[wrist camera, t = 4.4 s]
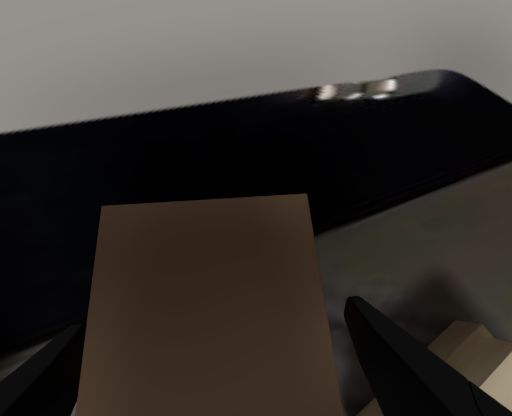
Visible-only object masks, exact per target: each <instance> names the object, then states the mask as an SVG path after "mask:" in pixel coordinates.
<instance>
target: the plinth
mask: <svg viewBox="0 0 512 416" xmlns="http://www.w3.org/2000/svg"><path fill="white" fill-rule="evenodd" d="M427 348H428V349H429V350H431V351H432V352H433V353H434V354H436V355H437V356H438V357H440V358H441V359H442V360H444V361H445V362H446V363H448V364H449V365H450V366H452V367H453V368H454V369H455V370H457V371H458V372H459V373H461V374H462V375H463V376H465V377H466V378H467V380H469V381H471V382H473V383H474V384H475V385H477V386H478V387H479V388H481V389H482V390H483V391H484V392H486V393H487V394H488V395H490V396H491V397H493V398H494V399H495V400H497V401H498V402H499V403H501V404H502V405H503V406H505V407H506V408H507V409H509V410H510V411H512V342H511V341H505V340H500V339H495V338H494V337H493V336H492V335H491V333H490V332H489V331H488V330H487V329H486V328H485V326H484V325H483V324H480V323H473V322H466V321H459V320H455V321H454V322H452V323H451V324H450V325H449V326H448V327H447V328H446V329H445V330H444V331H443V332H442V333H441V334H440V335H439V336H438V337H437V338H436V339H435V340H434V341H433V342H432V343H431V344H430V345H429V346H428V347H427ZM356 416H383V413H382V411H381V409H380V407H379V405H378V402H377V400H376V398H374V399H373V400H372V401H371V402H370V403H369V404H368V405H367V406H365V407H364V408H363V409H362V410H361V411H360V412H359V413H358V414H357V415H356Z"/></svg>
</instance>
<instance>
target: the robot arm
mask: <svg viewBox="0 0 512 416" xmlns="http://www.w3.org/2000/svg"><path fill="white" fill-rule="evenodd" d="M344 318H345V321H346V324H347V327H348V330H349V333H350V336H351V339H352V342H353V345H354V348H355V351H356V354H357V356H358V359H359V362H360V364H361V367H362V369H363V371H364V374H365V376H366V378H367V380H368V382H369V385H370V387H371V389H372V391H373V393H374V396H375V398H376V400H377V402H378V405H379V407H380V409H381V411H382V413H383V416H512V411H510V410H509V409H507V408H506V407H505V406H503V405H502V404H501V403H499V402H498V401H497V400H495V399H494V398H493V397H491V396H490V395H488V394H487V393H486V392H484V391H483V390H482V389H481V388H479V387H478V386H477V385H475V384H474V383H473V382H471V381H469V380H467V378H466V377H465V376H463V375H462V374H461V373H459V372H458V371H457V370H455V369H454V368H453V367H452V366H450V365H449V364H448V363H446V362H445V361H444V360H442V359H441V358H440V357H438V356H437V355H436V354H434V353H433V352H432V351H431V350H429V349H428V348H427V347H425V346H424V345H423V344H421V343H420V342H419V341H417V340H416V339H415V338H413V337H412V336H411V335H410V334H408V333H407V332H406V331H404V330H403V329H402V328H400V327H399V326H398V325H396V324H395V323H394V322H392V321H391V320H390V319H389V318H387V317H386V316H385V315H383V314H382V313H381V312H379V311H378V310H377V309H375V308H374V307H373V306H372V305H370V304H369V303H368V302H366V301H365V300H364V299H362V298H361V297H359V296H352V297H348V298H347V300H346V305H345V309H344ZM86 327H87V323H86V322H82V323H74V324H72V325H70V326H69V327H68V328H67V329H65V330H64V331H63V332H62V333H60V334H59V335H58V336H57V337H55V338H54V339H53V340H52V341H51V342H49V343H48V344H47V345H46V346H44V347H43V348H42V349H41V350H39V351H38V352H37V353H36V354H34V355H33V356H32V357H31V358H30V359H28V360H27V361H26V362H25V363H23V364H22V365H21V366H20V367H18V368H17V369H16V370H15V371H14V372H12V373H11V374H10V375H9V376H7V377H6V378H5V379H4V380H2V381H1V382H0V416H71V413H72V411H73V408H74V406H75V404H76V401H77V398H78V390H79V382H80V375H81V367H82V359H83V351H84V343H85V335H86Z"/></svg>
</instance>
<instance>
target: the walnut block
mask: <svg viewBox="0 0 512 416" xmlns="http://www.w3.org/2000/svg"><path fill="white" fill-rule="evenodd" d="M75 416H344V413H343V407H342V401H341V395H340V389H339V383H338V377H337V371H336V366H335V360H334V354H333V348H332V342H331V336H330V330H329V324H328V318H327V312H326V306H325V300H324V294H323V288H322V282H321V276H320V270H319V264H318V258H317V252H316V246H315V240H314V234H313V228H312V222H311V216H310V210H309V204H308V198H307V194H292V195H275V196H259V197H242V198H226V199H209V200H193V201H176V202H160V203H143V204H127V205H110V206H102V208H101V216H100V224H99V232H98V240H97V247H96V255H95V263H94V271H93V279H92V287H91V295H90V303H89V311H88V319H87V327H86V335H85V343H84V351H83V359H82V367H81V375H80V382H79V390H78V398H77V406H76V414H75Z"/></svg>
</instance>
